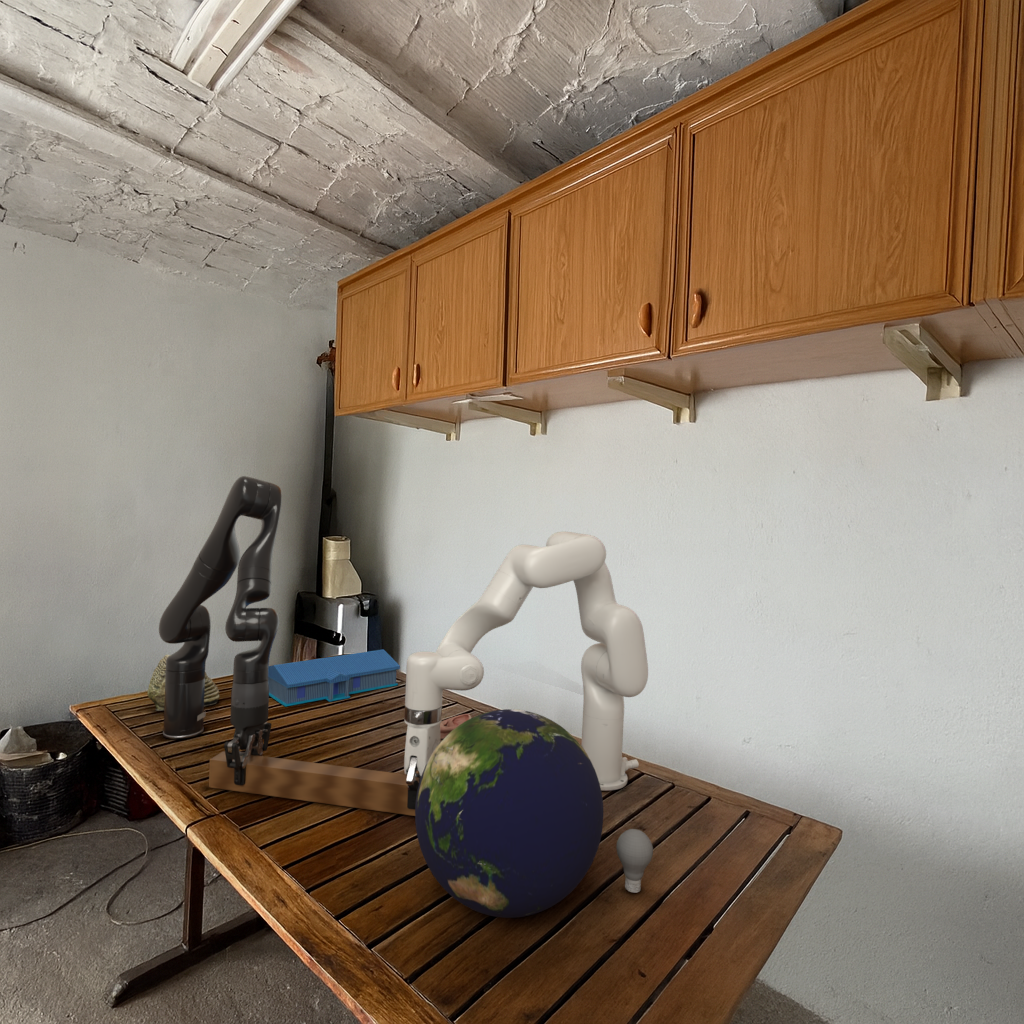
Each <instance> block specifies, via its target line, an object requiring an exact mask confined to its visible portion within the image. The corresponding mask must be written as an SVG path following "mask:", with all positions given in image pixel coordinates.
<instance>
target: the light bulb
mask: <svg viewBox="0 0 1024 1024" xmlns="http://www.w3.org/2000/svg"><path fill="white" fill-rule="evenodd" d="M615 849H616V854H617V857H618V859H619V861H620V863H621V865H622V867H623V873H624V874H623V875H624V876H625V878H624V888H625V890H627V891H628V892H630V893H634V894H635V893H639V892H640V891H641V889H642V887H641V886H642V879H643V877H644V875H645V871H646V868H647V867H648V866H649V864H650V863H651V861H652V859H653V855H654V847H653V843H652V841H651V838H649V836H648V835H647V834H646V833H645V832H643V831H642V830H641V829H636V828H629V829H627V830H625V831H623V832H622V833H621V834H620V835H619V837H618V839H617V841H616V847H615Z"/></svg>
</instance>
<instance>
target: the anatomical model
mask: <svg viewBox="0 0 1024 1024" xmlns="http://www.w3.org/2000/svg"><path fill="white" fill-rule="evenodd" d="M471 718H472V716H471V714H470V713H463V714H459V715H454V716H452V717H449V718H446V719H444V720H441V723H440V740H443V739H444V738H445V737H446V736H447V735H448V734H449V733H450V732H451V731H453V730H454V729H455V728H456V727H458V726H459V725H461V724H462V723H464V722H465V721H467V720H469V719H471Z"/></svg>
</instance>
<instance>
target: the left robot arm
mask: <svg viewBox="0 0 1024 1024" xmlns="http://www.w3.org/2000/svg"><path fill="white" fill-rule="evenodd" d="M223 503H224V504H223V506H222V507H221V510H220V513H219V515H218V517H217V520H216V522H215V523H214V526H213V528H212V530H211V532H210V534H209V535H208V537H207V539H206V541H205V542H204V544H203V546H202V548H201V549H200V551H199V553H198V555H197V557H196V558H195V561H194V562H193V564H192V567H191V569H190V571H189V573H188V574H187V576H186V577H185V579H184V581H183V583H182V584H181V587H180V588H179V589H178V591H177V593H175V595H174V597H173V598H172V600H171V601H170V602H169V603H168V605H167V606H166V607H165V609H164V611H163V613H161V614H162V615H161V617H160V619H159V623H158V634H159V637H160V639H161V640H162V641H163V642H164V643H166V644H170V645H172V644H173V645H174V644H175V645H177V644H182V646H181V647H180V648H179V649H178V650H177V651H175V652H173V653H172V654H169V655H170V656H169V657H168V658H167V660H166V674H165V705H164V710H163V731H162V737H164V738H166V739H169V740H185V739H190V738H191V739H192V738H194V737H197V736H199V735H202V734H203V732H204V730H205V729H204V722H205V721H204V718H205V717H206V715H207V713H206V710H205V706H204V693H205V672H206V664H207V663H206V662H207V658H208V655H209V651H210V639H211V628H212V621H211V614H210V612H209V610H208V608H207V607H206V606H205V605H203V603H204V602H206V601H207V600H209V599H210V598H211V597H213V596H214V595H215V594H217V593H218V592H219V591H220V590H221V589H222V588H223V587H225V586H226V585H227V584H228V583H229V581H230V580H231V578H232V577H233V575H234V573H235V572H236V569H237V578H236V592H235V595H234V599H233V603H232V607H231V609H230V610H229V613H228V616H227V618H226V621H225V628H224V629H225V634H226V636H227V638H228V639H229V640H230V641H231V642H236V643H244V642H260V643H259V644H258V645H257V646H256V647H255V648H252V649H248V650H245V651H241V652H239V653H237V654H236V655H235V656H234V659H233V668H232V669H233V674H232V685H231V695H230V699H231V700H230V720H229V721H230V725H232V726H233V727H234V728H235V729H234V734H233V738H232V739H231V741H225V742H224V745H223V748H224V751H225V755H226V762H227V767H229V768H234V783H235V785H241V786H242V785H244V784H245V782H246V763H247V758H248V756H250V755H257V756H264V755H263V754H264V752H266V751H267V750H268V747H269V743H270V736H271V730H272V722H268V720H269V705H270V704H269V703H270V696H269V683H268V673H269V666H270V657H271V652H272V648H273V645H274V642H275V638H276V635H277V633H278V630H279V626H280V617H279V614H278V612H277V611H276V609H274V608H272V607H248V606H249V605H251V604H255V603H258V602H262V601H265V600H267V599H268V598H269V597H271V592H272V567H273V566H272V565H273V555H274V549H275V544H276V538H277V534H278V529H279V522H280V518H281V511H282V503H283V493H282V489H281V487H280V486H279V485H277V484H275V483H272V482H269V481H264V480H262V479H259V478H256V477H255V478H254V477H252V476H247V475H242V476H239V477H238V478H237V479H236V480H235V481H234V482H233V483H232V486H231V488H230V490H229V491H228V494H227V497H226V499H225V501H224V502H223ZM240 517H247V518H252V519H255V520H260V522H261V524H260V525H261V526H260V531H259V533H258V535H257V536H256V537H255V539H254V540H253V541H252V542H251V544H250V545H248V547H247V549H245V551H244V552H243V554H242V555H241V549H240V545H239V543H238V538H237V533H236V524H237V521H238V519H239V518H240ZM241 750H242V751H241ZM240 756H242V757H243V758H242V762H241V760H240ZM232 759H234V760H233V762H232Z"/></svg>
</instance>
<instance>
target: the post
mask: <svg viewBox="0 0 1024 1024" xmlns="http://www.w3.org/2000/svg"><path fill="white" fill-rule="evenodd" d="M242 758H243V757H242V756H240V760H241V762H242ZM233 760H234V759H232V762H233ZM406 779H407V775H406V774H405V773H400V772H399V773H397V772H391V771H383V770H375V769H374V770H373V769H367V768H359V767H350V766H343V765H335V764H328V763H320V762H319V763H318V762H310V761H303V760H295V759H288V758H279V757H274V756H273V757H272V756H264V755H262V756H257V755H250V756H248V758H247V763H246V782H245V784H244V785H242V786H241V785H235V783H234V768H229V767H227V762H226V755H225V750H224V751H220V752H219V753H217V754H216V755H214V756H213V757H211V758H209V772H208V788H211V789H218V790H226V791H234V792H240V793H247V794H254V795H255V794H256V795H260V796H261V795H262V796H268V797H269V796H270V797H277V798H283V799H290V800H297V801H305V802H311V803H319V804H325V805H332V806H333V805H334V806H339V807H348V808H354V809H355V808H356V809H361V810H368V811H369V810H370V811H377V812H383V813H392V814H399V815H404V816H412V817H413V816H414V817H415V809H408V808H407V800H408V784H407V783H406ZM415 780H417V781H418V783H419V778H417V777H415Z"/></svg>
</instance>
